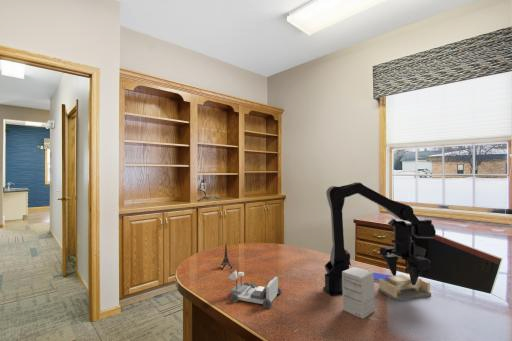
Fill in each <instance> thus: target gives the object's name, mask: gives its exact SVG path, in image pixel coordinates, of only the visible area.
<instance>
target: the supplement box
mask: <svg viewBox="0 0 512 341" xmlns="http://www.w3.org/2000/svg"><path fill="white" fill-rule="evenodd" d="M374 273H375V272H374ZM374 273H373V271H370V270H367V269H363V268H359V267H356V266H352V267H349V269H347V270H345V271H343V272H342V291H343V294H342V310H343V311H344V312H347V313H349V314H352V315H353V316H356V317H358V318H361V319H365V318H367V317H368V316H370V315H371V314H373V313H374V312H375V311H376V310H375V309H376V308H375V305H376V304H375V281H374Z"/></svg>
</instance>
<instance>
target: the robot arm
mask: <svg viewBox="0 0 512 341" xmlns="http://www.w3.org/2000/svg"><path fill="white" fill-rule="evenodd" d="M325 194H326V198H327V199H326V200H327V202H328V205H329V208H330V220H331V236H332V238H331V239H332V248H331V251H330V256H329V257H330V258H329V261H327V263H326V264H325V265H324V269H325V271H326V273H324V286H323V287H322V289H323V290H324V291H325V292H326V293H328V294H329V295H330V296H338V295H343V291H342V272H343V271H345V270H347V269H350V266H352V263H351V253H350V252H349V251H348V250H347V249H345V240H344V239H345V237H344V235H345V234H344V221H343V208H344V204H345V200H346V198H348V197H349V198H350V197H351V196H353V195H357V194H358V196H359V195H360V196H362V197H363V198H364V199H367V200H369V201H370V202H373V203H374V204H376V205H378V206H380V207H381V208H382V209H384V210H386V211H387V212H388V214H390V215H392V216H393V217H394V218H396V219H399V220H396V219H394V218H391V220H390V221H389V222H387V225H389V226H391V227H393V239H391V243H393V244H394V245H393V246H381V247H380V249H379V254H380V256H381V257H382V258H383V259H384V261H385V263H386V265H387V266H388V268H389V271H390V272H391V274H392V276H397V264H398V263H397V262H398V260H399V259H401V260H404V261H407V264H408V265H407V270H408V274H409V275H410V279H411V283H412V285H415V284H416V282H417V280H418V277H419V278H420V275H421V273H422V271H424V270H428V269H431V267H432V266H431V264H432V263H431V261H430V259H428V258H427V257H425V255H426V251H427V249H426V248H424V247H421V246H418V245H416V242H415V240H412V236H413V237H414V238H415V239H434V238H435V237H436V229H435V226H434V224H433V223H432V222H433V221H432V219H429V218H425V219H418V217H417V216H416V214H415V213H414V208H413V207H412V206H410V205H408V204H405V203H402V202H399V201H397V200H396V201H395V200H393V199H391V198H388V197H386V196H384V195H382V194H381V193H379V192H377V191H375V190H373V189H372V188H370V187H368V186H366V185H364V184H363V183H362V182H353V183H350V184H346V185H341V186H336V185H331V186H329V187H328V188H327V189H326V193H325ZM405 221H406V222H405ZM407 222H408V223H407Z"/></svg>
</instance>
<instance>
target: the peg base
mask: <svg viewBox="0 0 512 341" xmlns="http://www.w3.org/2000/svg"><path fill="white" fill-rule="evenodd" d="M421 284H422V287H418V288H410V289H403V290H397V287H396V286H394V285H392V284H390V283H389V282H387V281H385V280H383V279H379V282H378V289H377V290H378V291H379V292H381V294H384V295H386V296H387V297H389V298H390V299H392V300H394V301H396V302H399V301H405V300H413V299H418V298H419V299H420V298H426V297H432V293H431V289H430V288H431V285H430V284H431V282H428V281H426V280H425V279H422V278H421Z"/></svg>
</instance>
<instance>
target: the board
mask: <svg viewBox="0 0 512 341" xmlns="http://www.w3.org/2000/svg"><path fill="white" fill-rule="evenodd" d="M421 279H422V278H421V277H420V276H419V277H418V280H417V282H416V284H415V285H412V283H411V279H410V275H409V273H408V274H396V276H393V275H391V276H389V277H386V281H387V282H389V283H390V284H392V285H394V286H396V287H397V290H403V289H410V288H418V287H422V284H421Z"/></svg>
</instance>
